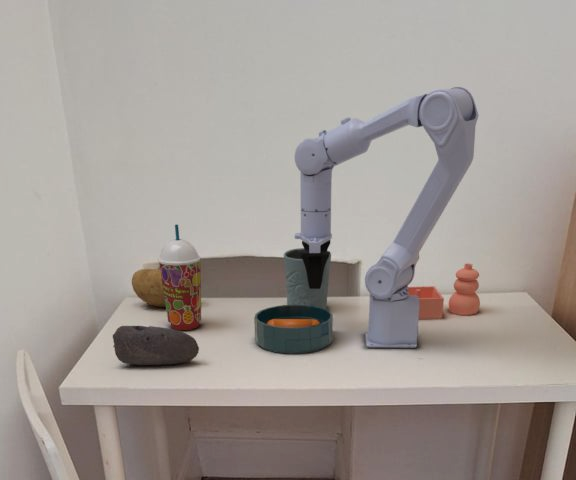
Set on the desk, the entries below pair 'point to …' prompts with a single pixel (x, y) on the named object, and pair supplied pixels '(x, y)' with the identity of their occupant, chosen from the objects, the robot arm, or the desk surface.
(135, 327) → the perforated stone tool
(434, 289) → the bottle and box
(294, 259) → the green cylindrical vase
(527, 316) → the desk surface
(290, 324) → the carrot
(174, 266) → the smoothie
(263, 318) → the teal shallow bowl
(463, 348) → the desk surface
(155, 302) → the potato
